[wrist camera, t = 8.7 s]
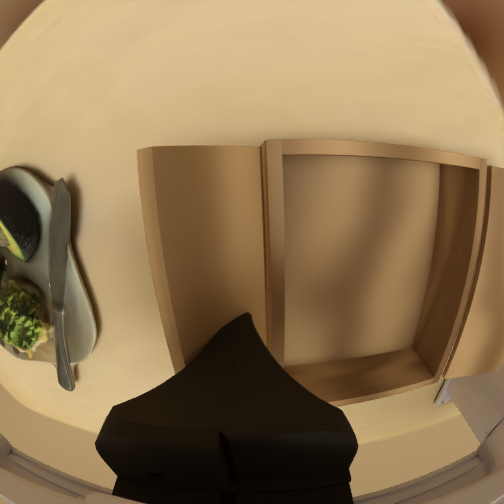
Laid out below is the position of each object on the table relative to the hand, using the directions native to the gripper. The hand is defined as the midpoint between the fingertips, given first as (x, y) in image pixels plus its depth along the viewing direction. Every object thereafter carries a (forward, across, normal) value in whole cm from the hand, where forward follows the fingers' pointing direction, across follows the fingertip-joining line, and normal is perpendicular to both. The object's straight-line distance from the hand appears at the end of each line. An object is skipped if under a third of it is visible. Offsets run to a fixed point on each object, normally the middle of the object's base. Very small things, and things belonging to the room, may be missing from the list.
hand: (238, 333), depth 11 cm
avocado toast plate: (+7, +19, -1) cm, 20 cm away
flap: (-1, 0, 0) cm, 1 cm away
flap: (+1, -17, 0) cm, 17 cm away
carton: (+6, -7, 0) cm, 10 cm away
